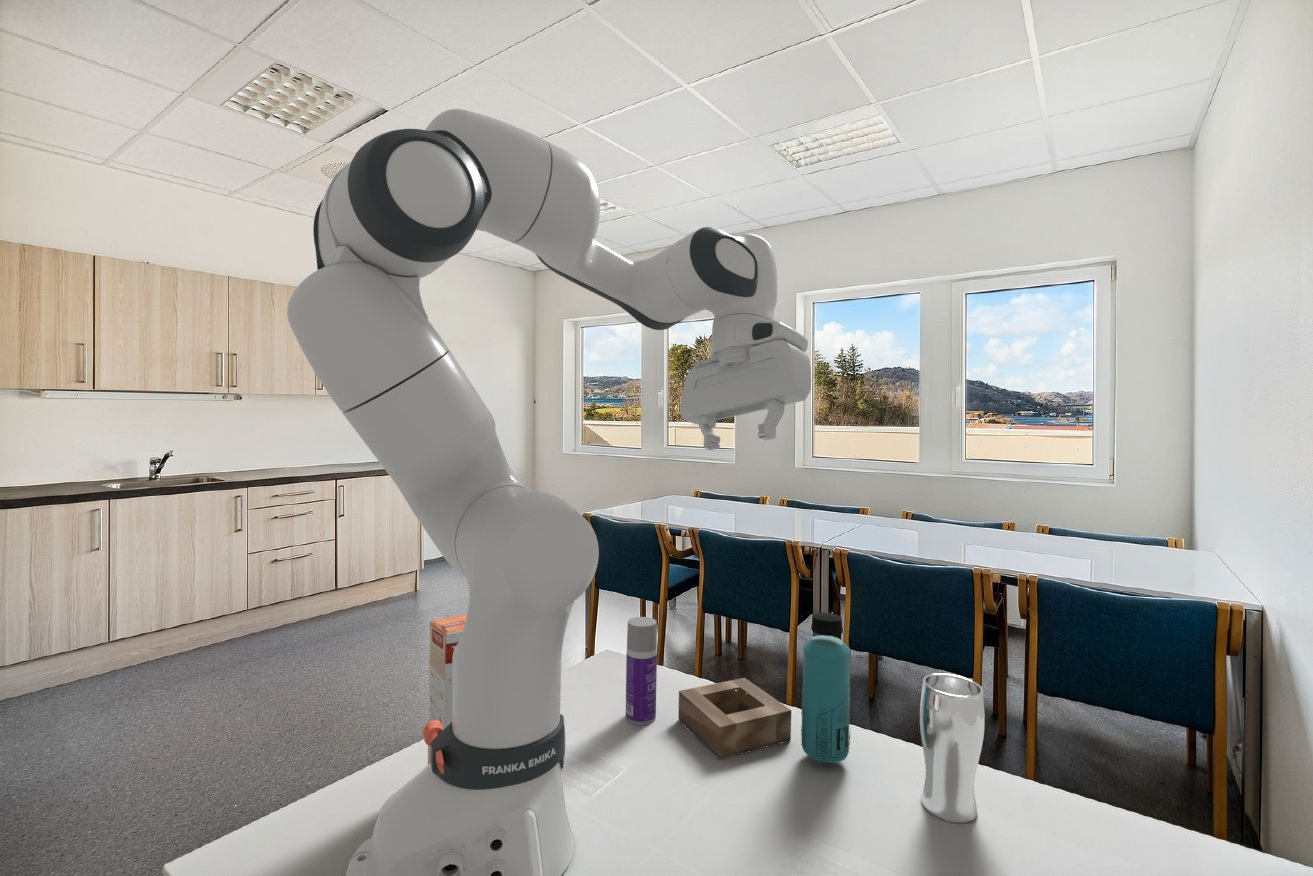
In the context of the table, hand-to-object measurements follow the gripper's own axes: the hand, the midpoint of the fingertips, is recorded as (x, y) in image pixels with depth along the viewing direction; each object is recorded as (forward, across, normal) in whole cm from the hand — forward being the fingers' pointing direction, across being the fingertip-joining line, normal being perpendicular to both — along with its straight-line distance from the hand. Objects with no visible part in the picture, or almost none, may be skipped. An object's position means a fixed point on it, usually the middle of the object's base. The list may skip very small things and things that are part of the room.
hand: (737, 443), depth 81 cm
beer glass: (+42, +15, +24) cm, 51 cm away
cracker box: (+44, -27, -14) cm, 54 cm away
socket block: (+38, -13, +18) cm, 44 cm away
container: (+38, -25, +10) cm, 47 cm away
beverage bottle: (+40, 0, +21) cm, 45 cm away
